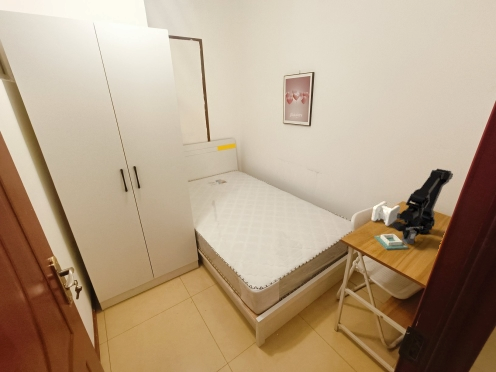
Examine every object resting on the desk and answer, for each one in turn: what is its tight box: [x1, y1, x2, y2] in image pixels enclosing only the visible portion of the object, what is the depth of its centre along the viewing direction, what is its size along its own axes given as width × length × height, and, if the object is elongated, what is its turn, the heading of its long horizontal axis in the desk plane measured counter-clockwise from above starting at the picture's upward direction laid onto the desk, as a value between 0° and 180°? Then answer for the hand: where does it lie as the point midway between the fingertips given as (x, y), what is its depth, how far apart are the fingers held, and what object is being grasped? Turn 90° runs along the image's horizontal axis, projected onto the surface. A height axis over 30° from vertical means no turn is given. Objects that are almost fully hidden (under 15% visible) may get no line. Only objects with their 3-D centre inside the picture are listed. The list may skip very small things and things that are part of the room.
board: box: [373, 234, 409, 251], centre depth 126 cm, size 12×12×1 cm
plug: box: [401, 228, 417, 245], centre depth 125 cm, size 4×4×8 cm
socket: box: [380, 233, 403, 246], centre depth 125 cm, size 8×8×2 cm
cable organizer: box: [371, 200, 401, 227], centre depth 145 cm, size 15×11×12 cm
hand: (408, 238), depth 125 cm, fingers closed on plug, 4 cm apart
